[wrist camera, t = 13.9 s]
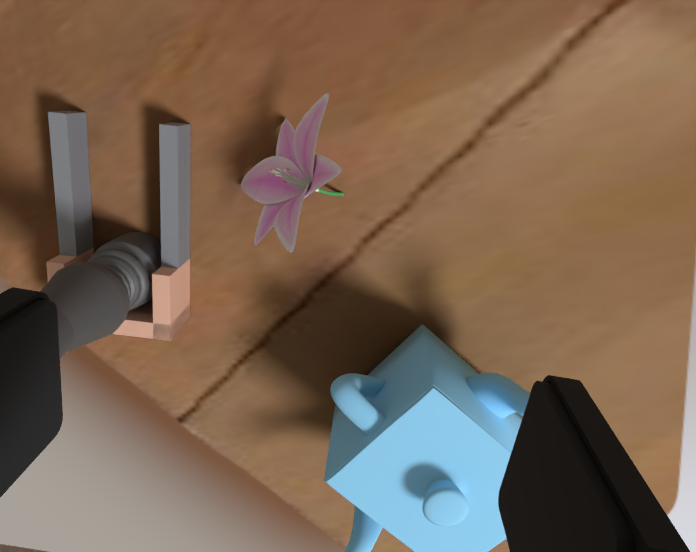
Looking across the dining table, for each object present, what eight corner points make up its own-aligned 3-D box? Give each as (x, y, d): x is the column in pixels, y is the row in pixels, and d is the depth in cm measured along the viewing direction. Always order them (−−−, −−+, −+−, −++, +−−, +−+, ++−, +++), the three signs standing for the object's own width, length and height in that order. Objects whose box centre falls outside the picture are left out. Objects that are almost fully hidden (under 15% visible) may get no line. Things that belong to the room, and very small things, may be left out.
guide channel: (68, 110, 45) (32, 112, 41) (190, 123, 45) (168, 127, 40) (82, 304, 51) (52, 326, 47) (189, 317, 51) (170, 340, 46)
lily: (357, 84, 44) (286, 58, 36) (417, 210, 43) (357, 212, 35) (261, 159, 51) (182, 151, 42) (310, 271, 49) (238, 285, 41)
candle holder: (159, 225, 48) (-52, 353, 25) (181, 287, 50) (4, 463, 27) (96, 238, 49) (-166, 376, 25) (120, 300, 51) (-103, 480, 27)
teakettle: (330, 317, 50) (311, 404, 37) (534, 311, 49) (594, 399, 35) (343, 481, 57) (330, 608, 43) (523, 480, 55) (571, 611, 41)
